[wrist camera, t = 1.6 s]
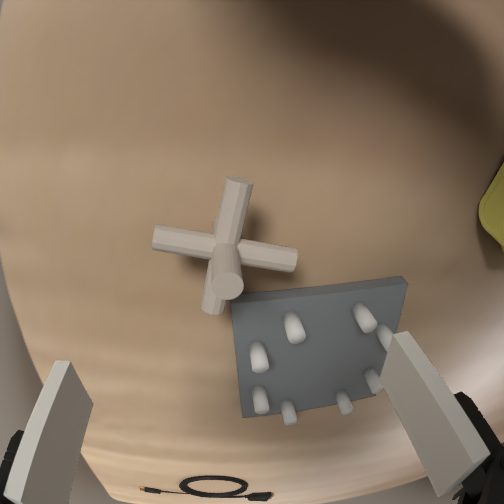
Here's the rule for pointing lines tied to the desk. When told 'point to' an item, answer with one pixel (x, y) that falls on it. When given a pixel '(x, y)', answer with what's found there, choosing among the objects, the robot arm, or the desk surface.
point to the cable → (188, 490)
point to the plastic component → (494, 208)
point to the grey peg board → (314, 345)
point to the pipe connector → (225, 247)
